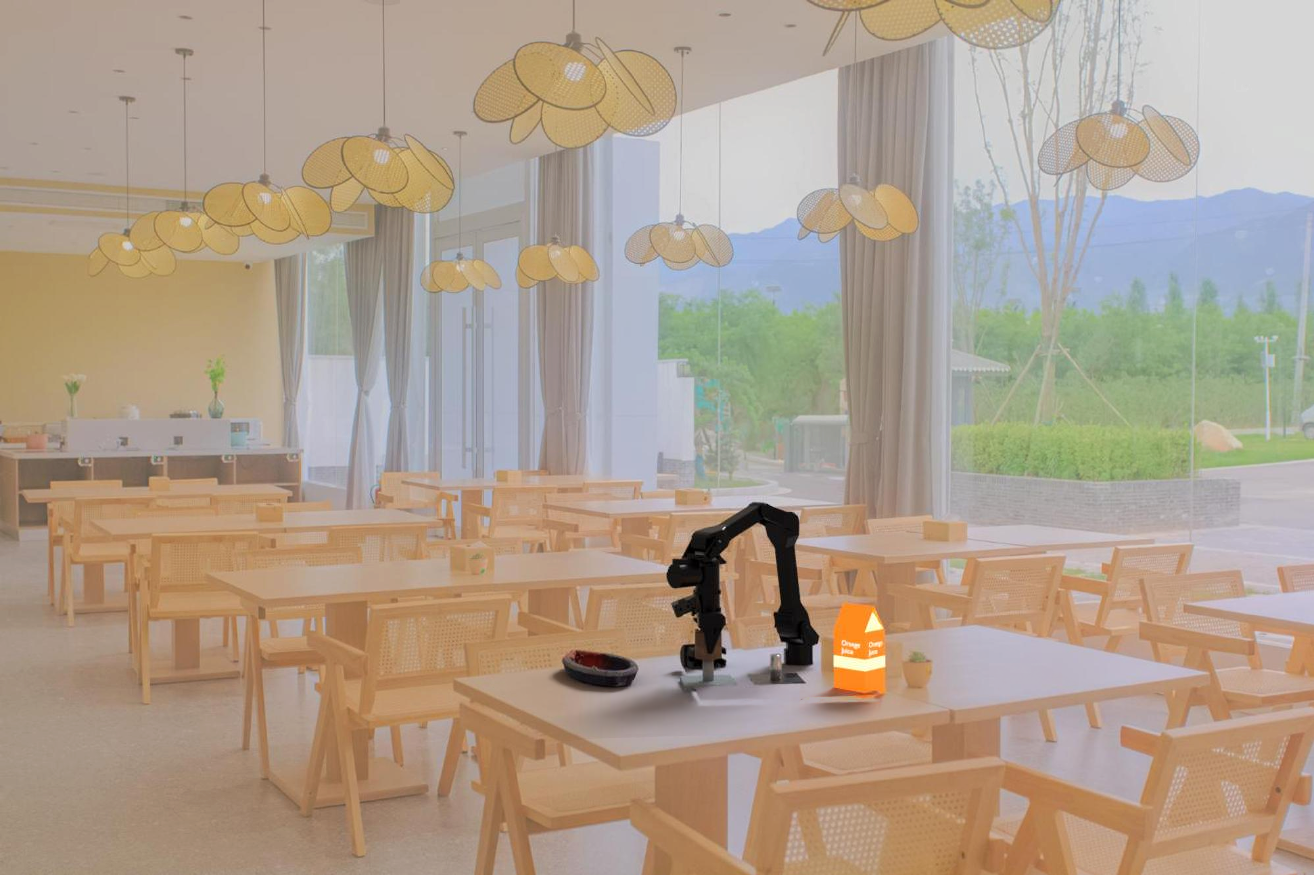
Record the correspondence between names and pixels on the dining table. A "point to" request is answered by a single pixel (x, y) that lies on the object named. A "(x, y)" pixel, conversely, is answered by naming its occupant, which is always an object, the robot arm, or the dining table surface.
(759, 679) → the stand
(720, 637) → the sleeve
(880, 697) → the dining table surface
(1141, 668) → the dining table surface
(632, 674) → the dish
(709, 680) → the grey peg base
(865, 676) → the orange juice
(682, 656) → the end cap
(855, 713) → the dining table surface
